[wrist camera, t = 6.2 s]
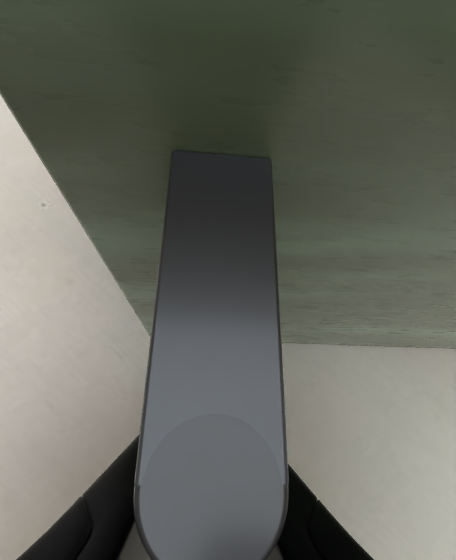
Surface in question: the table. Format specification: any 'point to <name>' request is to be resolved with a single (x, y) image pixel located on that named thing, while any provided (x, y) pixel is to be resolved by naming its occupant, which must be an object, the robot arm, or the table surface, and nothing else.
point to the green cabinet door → (245, 213)
